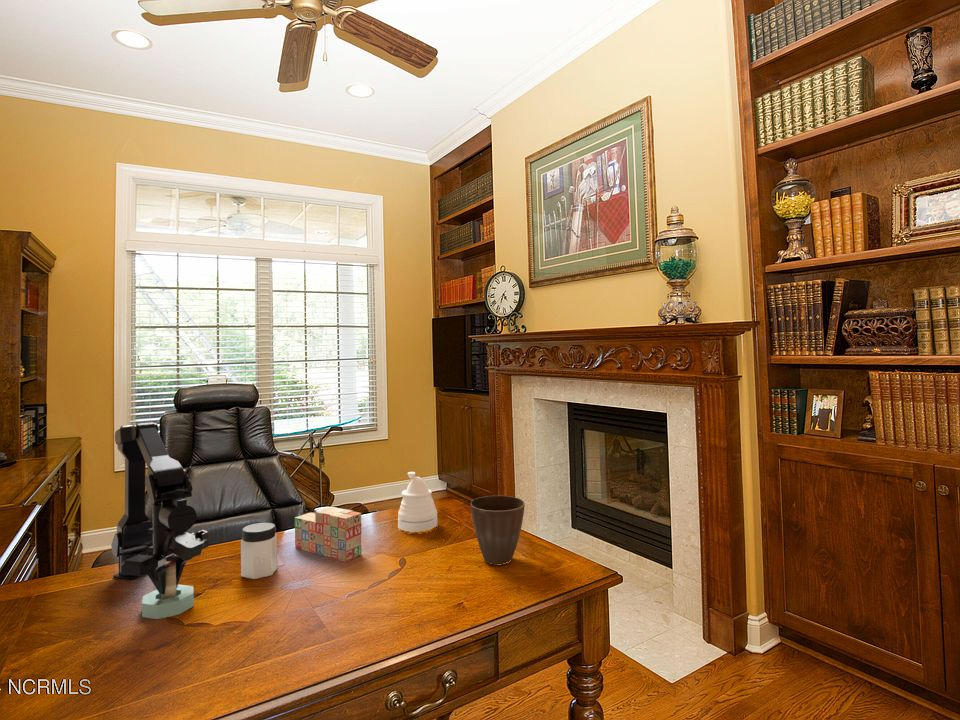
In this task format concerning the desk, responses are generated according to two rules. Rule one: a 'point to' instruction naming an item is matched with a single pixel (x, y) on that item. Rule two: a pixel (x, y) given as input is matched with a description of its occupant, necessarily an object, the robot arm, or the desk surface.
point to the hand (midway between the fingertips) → (168, 590)
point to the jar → (258, 550)
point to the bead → (167, 603)
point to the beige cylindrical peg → (170, 581)
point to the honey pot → (417, 507)
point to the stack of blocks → (330, 533)
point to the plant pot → (497, 526)
